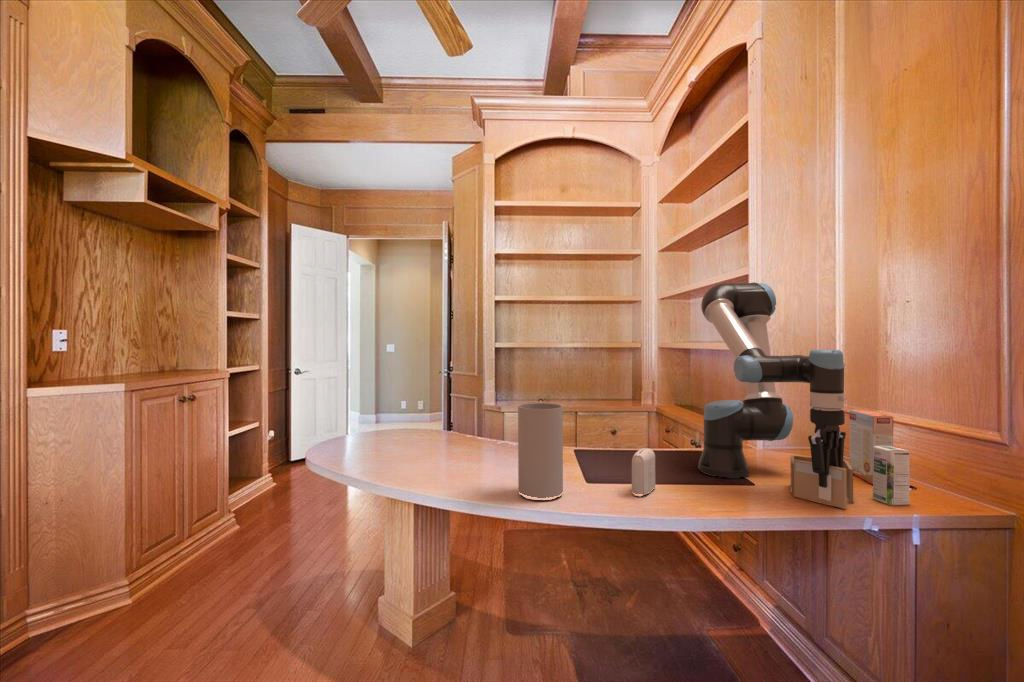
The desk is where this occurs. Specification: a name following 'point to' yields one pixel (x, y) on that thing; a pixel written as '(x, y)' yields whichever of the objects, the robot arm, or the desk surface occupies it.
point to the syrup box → (891, 475)
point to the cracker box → (868, 440)
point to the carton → (845, 465)
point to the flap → (809, 484)
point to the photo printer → (643, 471)
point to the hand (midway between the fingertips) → (828, 498)
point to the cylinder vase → (540, 449)
